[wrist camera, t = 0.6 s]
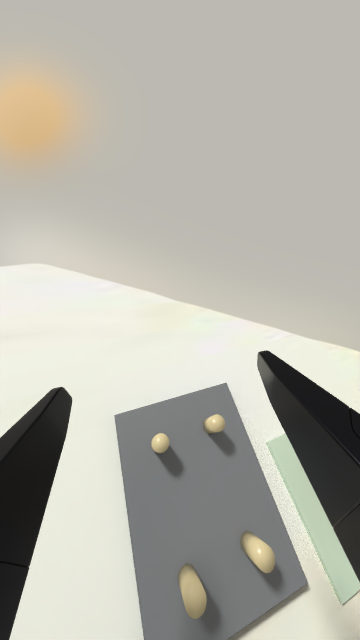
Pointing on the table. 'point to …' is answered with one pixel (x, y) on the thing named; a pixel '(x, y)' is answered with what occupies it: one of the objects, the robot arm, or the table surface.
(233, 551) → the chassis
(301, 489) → the board
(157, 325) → the table surface
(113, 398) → the table surface
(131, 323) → the table surface
